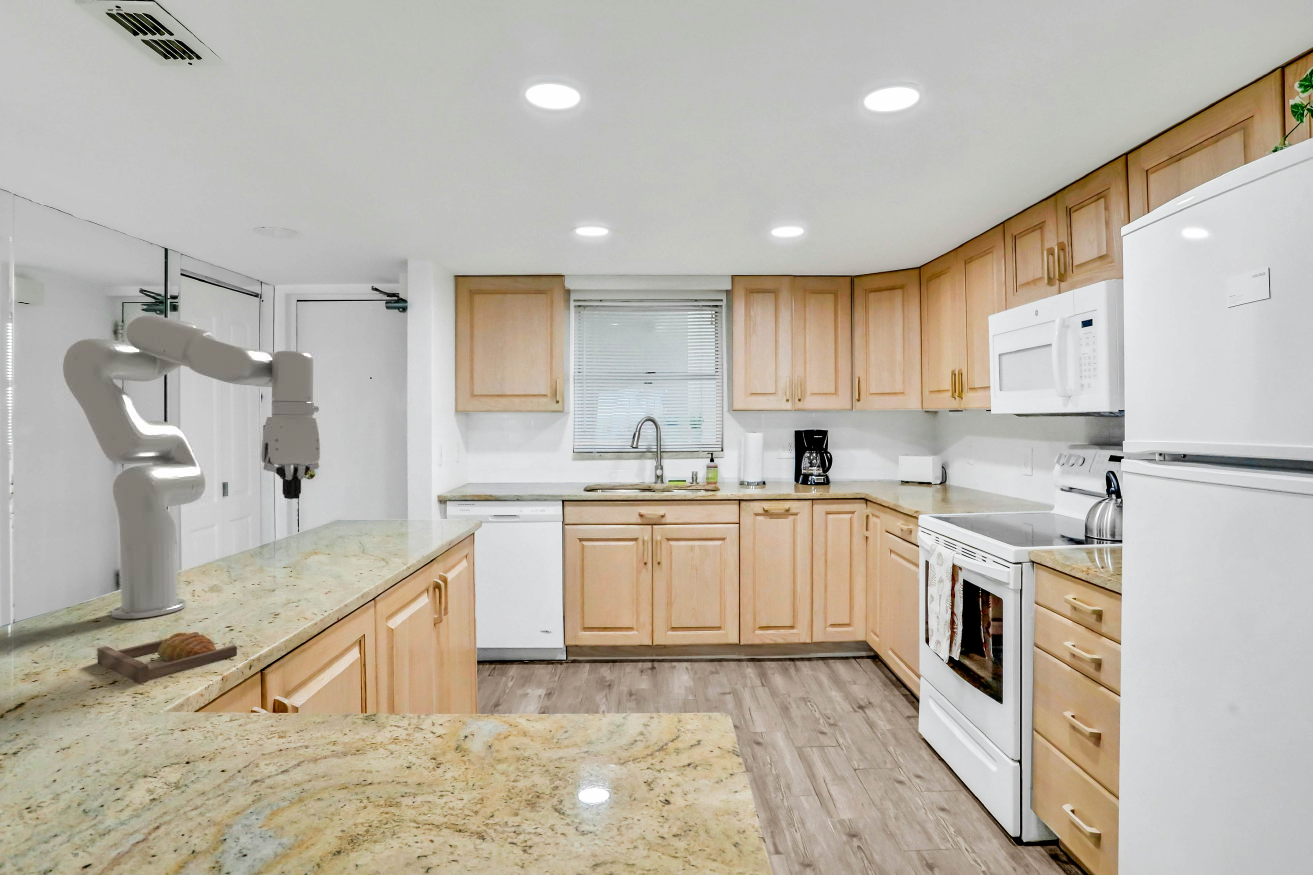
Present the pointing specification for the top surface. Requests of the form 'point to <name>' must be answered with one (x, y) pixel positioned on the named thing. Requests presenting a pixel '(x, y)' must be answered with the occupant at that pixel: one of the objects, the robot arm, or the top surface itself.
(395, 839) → the top surface
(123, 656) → the bay
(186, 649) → the pastry
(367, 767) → the top surface
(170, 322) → the robot arm
